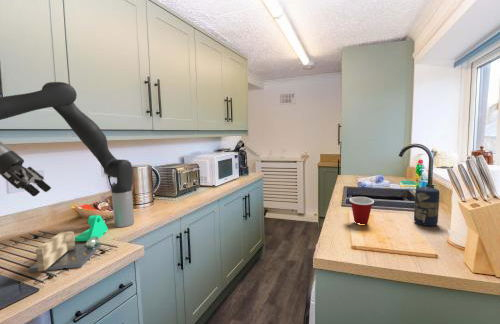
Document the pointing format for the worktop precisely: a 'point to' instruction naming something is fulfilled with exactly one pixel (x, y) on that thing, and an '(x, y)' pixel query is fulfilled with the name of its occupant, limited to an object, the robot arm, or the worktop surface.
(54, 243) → the zigzag patterned block
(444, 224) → the worktop surface
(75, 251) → the levelling base
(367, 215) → the plastic cup
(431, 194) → the canister
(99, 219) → the camera mount
